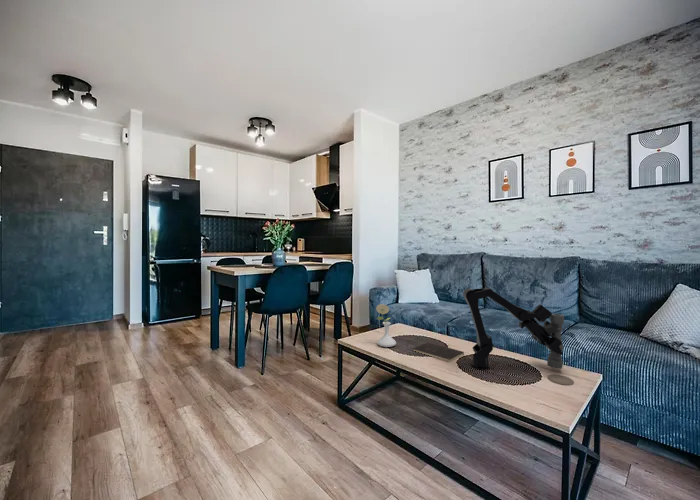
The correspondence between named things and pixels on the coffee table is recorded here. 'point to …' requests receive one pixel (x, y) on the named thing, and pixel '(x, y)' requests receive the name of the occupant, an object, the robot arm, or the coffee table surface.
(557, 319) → the candle holder
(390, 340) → the flower in vase
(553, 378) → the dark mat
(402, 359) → the coffee table surface
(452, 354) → the hardcover book
